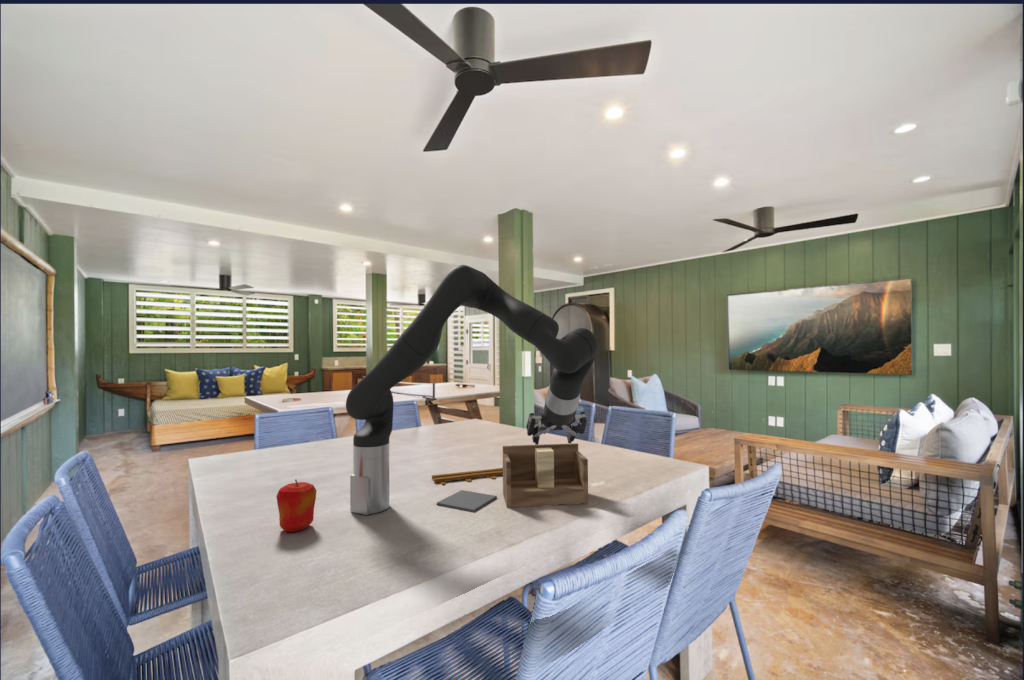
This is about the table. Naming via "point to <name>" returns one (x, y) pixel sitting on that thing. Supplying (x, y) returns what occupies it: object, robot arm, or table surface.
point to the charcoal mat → (467, 500)
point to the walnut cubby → (566, 476)
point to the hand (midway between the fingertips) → (552, 440)
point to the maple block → (544, 467)
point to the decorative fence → (467, 475)
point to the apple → (296, 506)
